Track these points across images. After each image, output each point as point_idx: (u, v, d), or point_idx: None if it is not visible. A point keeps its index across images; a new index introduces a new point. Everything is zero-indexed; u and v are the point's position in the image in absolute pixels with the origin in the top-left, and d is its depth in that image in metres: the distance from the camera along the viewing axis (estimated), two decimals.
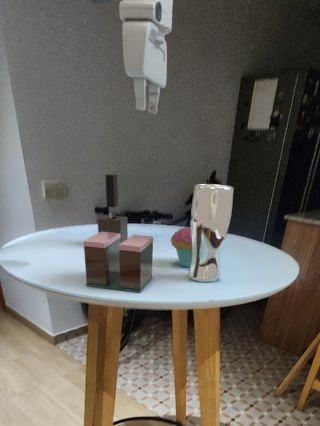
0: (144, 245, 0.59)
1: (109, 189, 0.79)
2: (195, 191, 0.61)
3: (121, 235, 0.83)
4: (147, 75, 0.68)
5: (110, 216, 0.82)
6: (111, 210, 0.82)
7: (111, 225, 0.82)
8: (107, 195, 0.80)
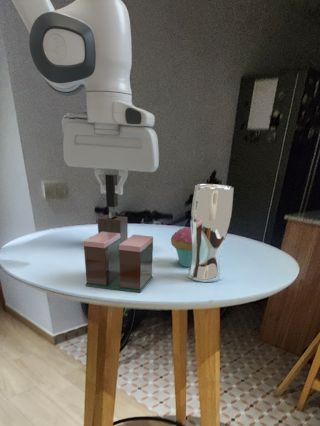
0: (144, 245, 0.59)
1: (109, 189, 0.79)
2: (195, 191, 0.61)
3: (121, 235, 0.83)
4: None
5: (110, 216, 0.82)
6: (111, 210, 0.82)
7: (111, 225, 0.82)
8: (107, 195, 0.80)
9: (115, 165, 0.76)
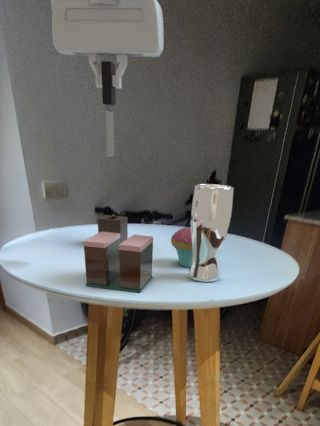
0: (144, 245, 0.59)
1: (105, 80, 0.68)
2: (195, 191, 0.61)
3: (121, 235, 0.83)
4: None
5: (107, 116, 0.71)
6: (108, 109, 0.71)
7: (111, 225, 0.82)
8: (103, 88, 0.69)
9: (113, 46, 0.65)
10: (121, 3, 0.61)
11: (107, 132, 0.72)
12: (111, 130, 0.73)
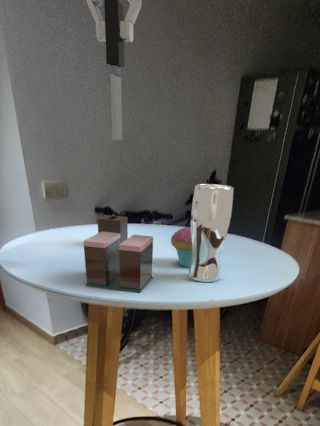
0: (144, 245, 0.59)
1: (110, 28, 0.48)
2: (195, 191, 0.61)
3: (121, 235, 0.83)
4: None
5: (112, 81, 0.50)
6: (114, 71, 0.50)
7: (111, 225, 0.82)
8: (107, 41, 0.48)
9: None
10: None
11: (113, 105, 0.52)
12: (118, 103, 0.53)
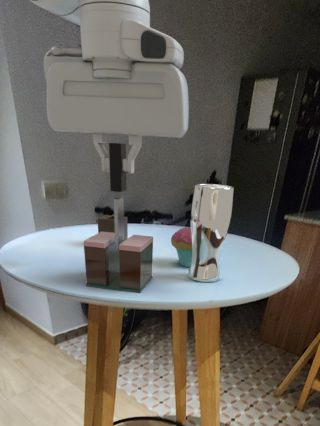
0: (144, 245, 0.59)
1: (114, 165, 0.54)
2: (195, 191, 0.61)
3: None
4: None
5: (115, 205, 0.57)
6: (117, 196, 0.57)
7: (111, 225, 0.82)
8: (111, 174, 0.55)
9: (124, 127, 0.51)
10: (135, 77, 0.47)
11: (116, 223, 0.58)
12: (121, 219, 0.59)
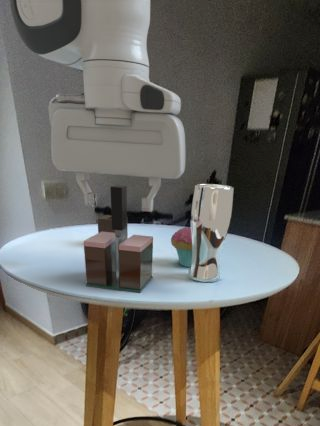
0: (144, 245, 0.59)
1: (115, 206, 0.57)
2: (195, 191, 0.61)
3: None
4: None
5: (116, 242, 0.60)
6: (118, 234, 0.60)
7: (111, 225, 0.82)
8: (113, 214, 0.58)
9: (124, 169, 0.54)
10: (135, 125, 0.50)
11: (117, 258, 0.62)
12: None
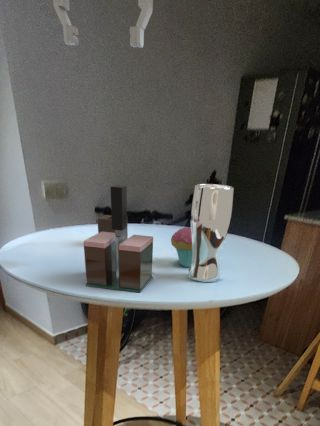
0: (144, 245, 0.59)
1: (115, 206, 0.57)
2: (195, 191, 0.61)
3: None
4: None
5: (116, 242, 0.60)
6: (118, 234, 0.60)
7: (111, 225, 0.82)
8: (113, 214, 0.58)
9: None
10: None
11: (117, 258, 0.62)
12: None
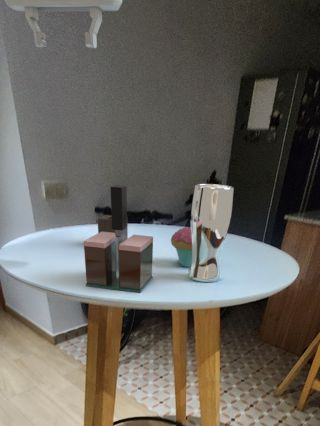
0: (144, 245, 0.59)
1: (115, 206, 0.57)
2: (195, 191, 0.61)
3: None
4: None
5: (116, 242, 0.60)
6: (118, 234, 0.60)
7: (111, 225, 0.82)
8: (113, 214, 0.58)
9: None
10: None
11: (117, 258, 0.62)
12: None
